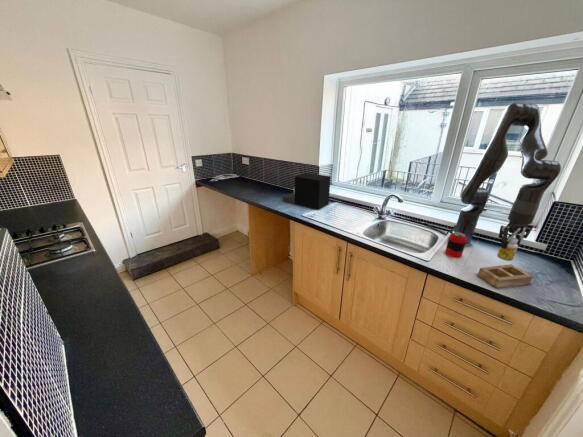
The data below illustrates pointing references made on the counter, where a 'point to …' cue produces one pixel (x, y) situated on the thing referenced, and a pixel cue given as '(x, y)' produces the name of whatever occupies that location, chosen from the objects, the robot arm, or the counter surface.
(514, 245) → the supplement bottle
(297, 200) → the black squarish block
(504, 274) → the holder
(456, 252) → the soda can
